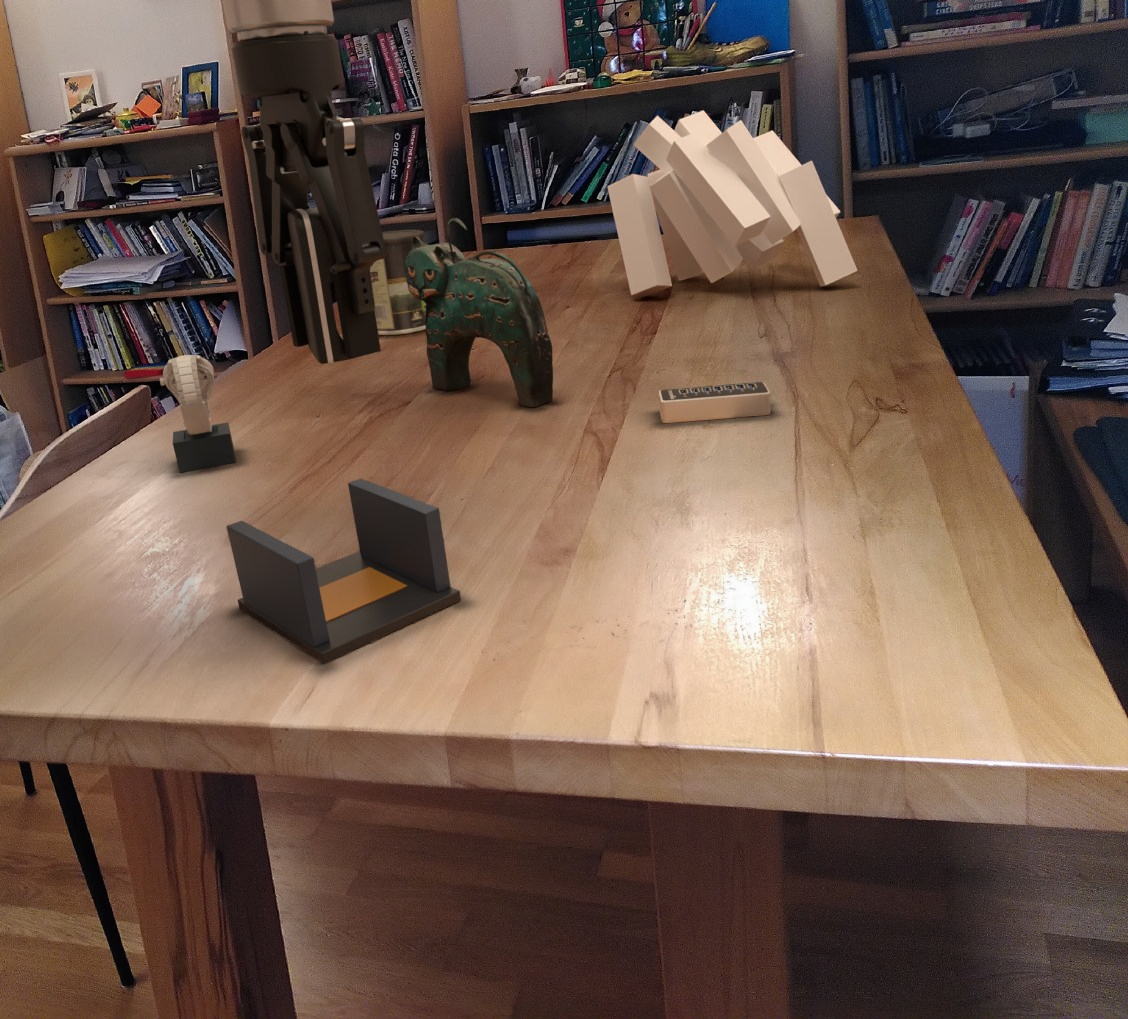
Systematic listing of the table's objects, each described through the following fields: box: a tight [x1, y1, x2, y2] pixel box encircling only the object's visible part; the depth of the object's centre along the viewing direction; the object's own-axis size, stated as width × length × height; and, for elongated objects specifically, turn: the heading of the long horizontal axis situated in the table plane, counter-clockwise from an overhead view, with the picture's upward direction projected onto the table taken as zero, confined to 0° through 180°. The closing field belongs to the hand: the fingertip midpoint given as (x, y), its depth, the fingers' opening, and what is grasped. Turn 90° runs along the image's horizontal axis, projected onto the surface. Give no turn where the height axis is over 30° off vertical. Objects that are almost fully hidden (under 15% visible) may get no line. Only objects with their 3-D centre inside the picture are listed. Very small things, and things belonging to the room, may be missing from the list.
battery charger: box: [287, 207, 351, 365], centre depth 81 cm, size 7×4×11 cm, turn 20°
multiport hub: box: [658, 381, 771, 424], centre depth 107 cm, size 4×11×2 cm, turn 89°
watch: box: [159, 354, 237, 473], centre depth 105 cm, size 6×8×11 cm
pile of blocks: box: [607, 110, 858, 297], centre depth 165 cm, size 35×30×35 cm
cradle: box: [225, 478, 461, 664], centre depth 72 cm, size 12×11×7 cm
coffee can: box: [368, 229, 426, 336], centre depth 158 cm, size 10×10×14 cm
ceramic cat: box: [405, 217, 554, 408], centre depth 118 cm, size 20×6×20 cm, turn 45°
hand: (336, 348), depth 83 cm, fingers closed on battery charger, 7 cm apart
